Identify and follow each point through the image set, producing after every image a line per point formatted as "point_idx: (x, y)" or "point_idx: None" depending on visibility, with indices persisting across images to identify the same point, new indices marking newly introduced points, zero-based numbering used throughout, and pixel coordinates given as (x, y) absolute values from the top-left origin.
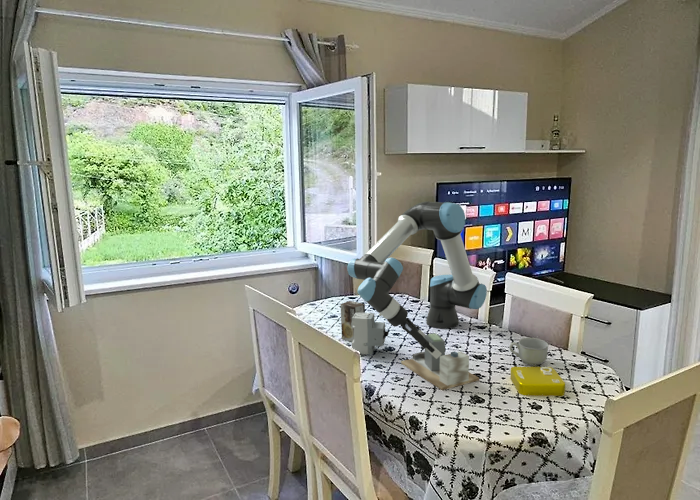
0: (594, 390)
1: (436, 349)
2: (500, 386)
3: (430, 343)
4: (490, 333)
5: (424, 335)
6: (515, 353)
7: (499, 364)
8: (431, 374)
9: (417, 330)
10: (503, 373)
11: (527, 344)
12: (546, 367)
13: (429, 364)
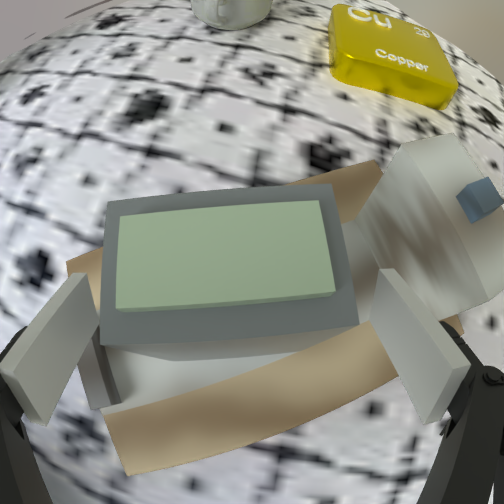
0: (387, 13)
1: (419, 302)
2: (407, 127)
3: (460, 352)
4: (16, 71)
5: (54, 326)
6: (222, 18)
7: (230, 72)
8: (335, 359)
9: (8, 391)
10: (307, 84)
11: None
12: (350, 8)
13: (262, 354)
